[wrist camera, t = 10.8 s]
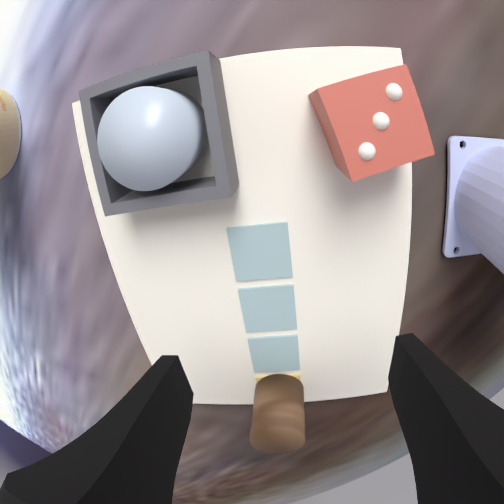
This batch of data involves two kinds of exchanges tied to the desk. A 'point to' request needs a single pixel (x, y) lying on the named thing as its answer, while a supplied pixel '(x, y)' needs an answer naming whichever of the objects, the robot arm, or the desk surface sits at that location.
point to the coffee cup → (9, 132)
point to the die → (373, 122)
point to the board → (259, 231)
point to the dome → (151, 137)
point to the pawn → (278, 415)
